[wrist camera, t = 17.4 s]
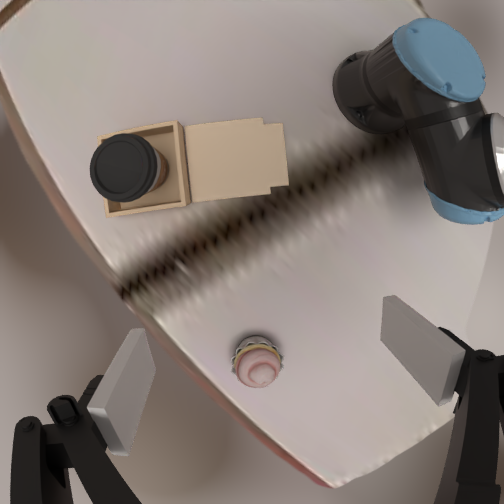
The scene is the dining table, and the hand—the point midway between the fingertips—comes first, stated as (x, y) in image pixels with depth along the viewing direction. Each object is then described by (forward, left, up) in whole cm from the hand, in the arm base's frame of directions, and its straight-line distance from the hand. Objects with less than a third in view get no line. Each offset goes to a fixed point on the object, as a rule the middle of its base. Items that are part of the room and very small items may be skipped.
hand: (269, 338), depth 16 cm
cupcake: (0, +22, -35) cm, 41 cm away
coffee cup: (+13, -11, -34) cm, 39 cm away
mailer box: (+6, -12, -35) cm, 37 cm away
